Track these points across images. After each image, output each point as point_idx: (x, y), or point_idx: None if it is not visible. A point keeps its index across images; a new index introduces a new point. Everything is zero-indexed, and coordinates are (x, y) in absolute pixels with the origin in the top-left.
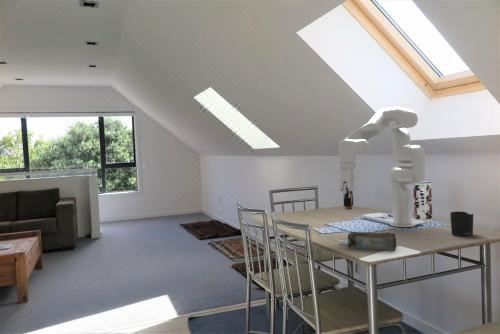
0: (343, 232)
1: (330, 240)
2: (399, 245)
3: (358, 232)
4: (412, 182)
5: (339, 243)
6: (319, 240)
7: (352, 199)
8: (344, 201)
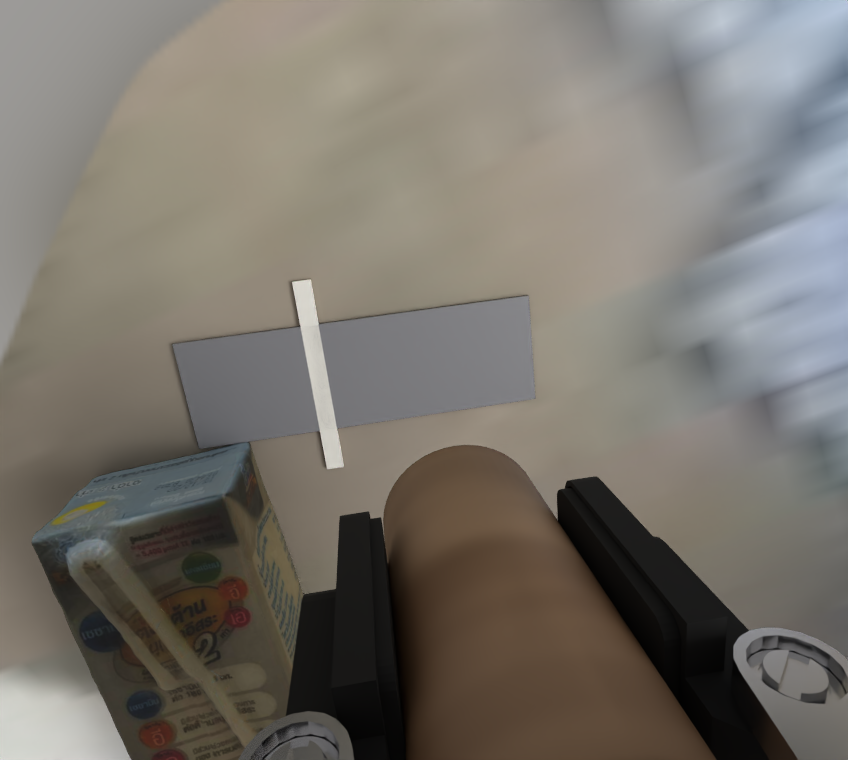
0: (692, 169)
1: (283, 193)
2: None
3: (228, 577)
4: None
5: (193, 343)
6: (218, 69)
7: None
8: (338, 612)
